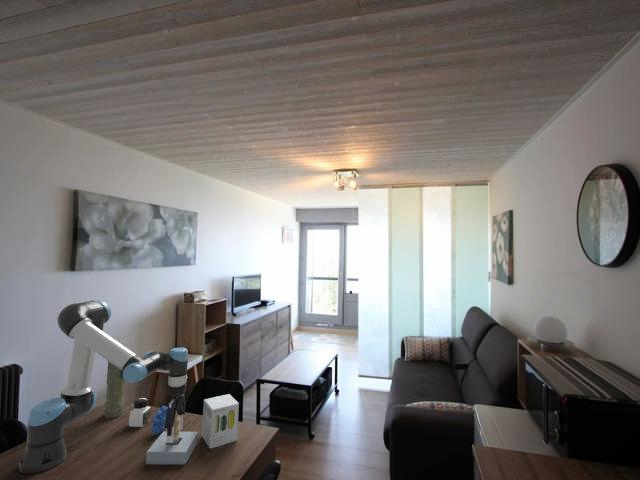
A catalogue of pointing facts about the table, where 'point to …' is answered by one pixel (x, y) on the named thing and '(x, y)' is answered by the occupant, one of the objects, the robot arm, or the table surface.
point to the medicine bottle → (140, 413)
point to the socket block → (172, 449)
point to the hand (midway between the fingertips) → (174, 435)
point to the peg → (176, 431)
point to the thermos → (114, 392)
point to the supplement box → (220, 420)
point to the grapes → (159, 420)
